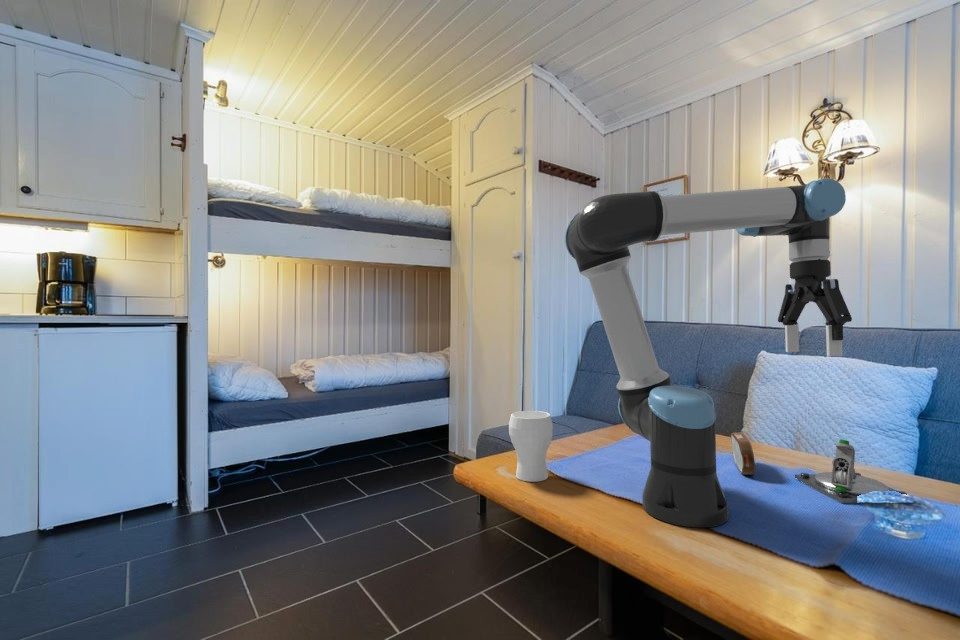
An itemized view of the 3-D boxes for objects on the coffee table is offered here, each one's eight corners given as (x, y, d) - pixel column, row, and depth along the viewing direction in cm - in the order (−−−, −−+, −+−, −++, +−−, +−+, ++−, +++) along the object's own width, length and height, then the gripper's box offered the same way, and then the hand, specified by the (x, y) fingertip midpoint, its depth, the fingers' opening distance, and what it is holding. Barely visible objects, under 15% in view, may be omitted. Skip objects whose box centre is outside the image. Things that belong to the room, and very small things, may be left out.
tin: (756, 480, 102) (755, 443, 102) (741, 479, 103) (740, 442, 103) (743, 461, 116) (742, 428, 116) (730, 460, 117) (729, 428, 117)
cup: (560, 473, 109) (559, 412, 109) (543, 487, 100) (541, 420, 100) (522, 467, 115) (520, 408, 115) (502, 479, 106) (500, 416, 106)
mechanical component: (862, 454, 97) (852, 440, 91) (859, 502, 93) (848, 491, 88) (845, 451, 99) (834, 438, 93) (841, 498, 96) (829, 487, 90)
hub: (841, 503, 88) (841, 494, 88) (794, 478, 102) (794, 471, 102) (915, 503, 88) (914, 494, 88) (857, 478, 101) (857, 470, 102)
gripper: (872, 251, 89) (875, 357, 89) (790, 267, 114) (792, 350, 113) (833, 252, 89) (836, 358, 89) (760, 268, 114) (762, 350, 114)
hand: (812, 354), depth 101 cm, fingers open, 13 cm apart
